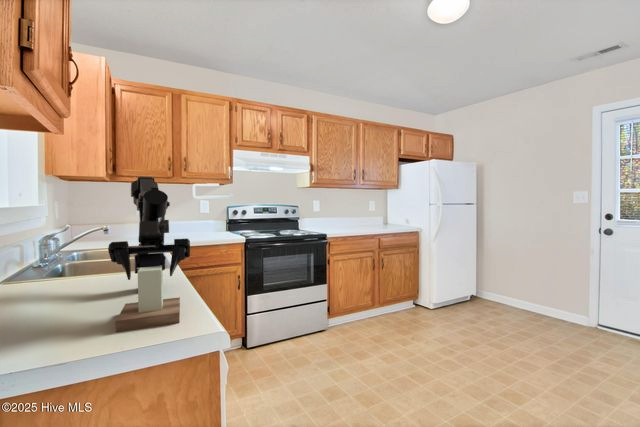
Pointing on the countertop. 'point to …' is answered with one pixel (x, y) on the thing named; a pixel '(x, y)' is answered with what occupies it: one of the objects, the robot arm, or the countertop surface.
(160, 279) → the sage block
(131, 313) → the walnut stand
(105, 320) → the countertop surface
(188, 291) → the countertop surface
